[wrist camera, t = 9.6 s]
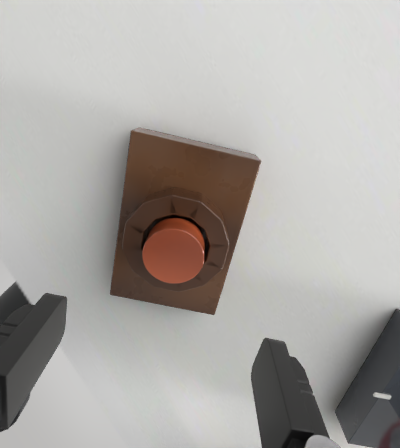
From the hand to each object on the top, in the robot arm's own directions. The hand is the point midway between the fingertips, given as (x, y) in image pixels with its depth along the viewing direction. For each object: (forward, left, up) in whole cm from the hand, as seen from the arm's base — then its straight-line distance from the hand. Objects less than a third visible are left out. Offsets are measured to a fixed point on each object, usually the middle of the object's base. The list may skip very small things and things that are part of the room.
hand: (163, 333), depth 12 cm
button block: (0, 0, -11) cm, 11 cm away
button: (0, 0, -7) cm, 7 cm away
